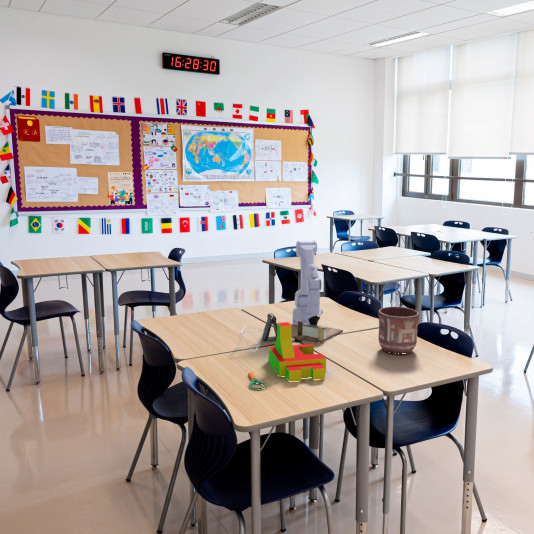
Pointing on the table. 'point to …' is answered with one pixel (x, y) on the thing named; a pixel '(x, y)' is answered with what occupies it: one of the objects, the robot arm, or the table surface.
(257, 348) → the geometric polyhedron
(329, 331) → the brown wooden board
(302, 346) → the building blocks toy
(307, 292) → the robot arm
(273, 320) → the phone stand
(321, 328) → the post
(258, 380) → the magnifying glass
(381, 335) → the pottery
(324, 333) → the panel
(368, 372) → the table surface
